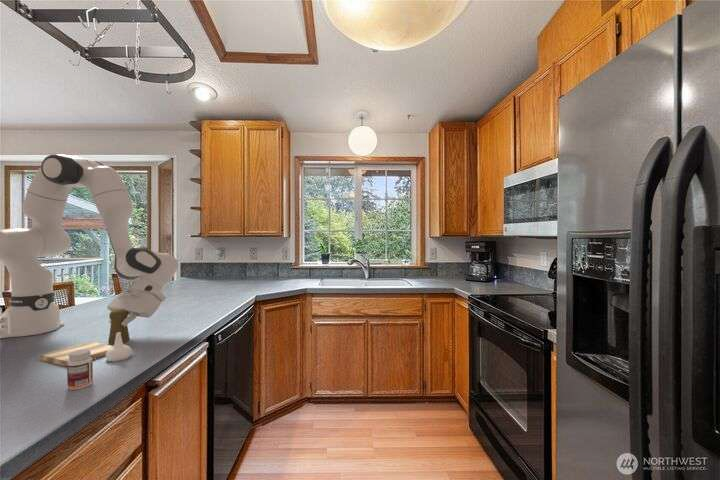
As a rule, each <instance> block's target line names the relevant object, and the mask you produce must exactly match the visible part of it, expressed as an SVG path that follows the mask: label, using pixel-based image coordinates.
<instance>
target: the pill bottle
mask: <svg viewBox="0 0 720 480" xmlns="http://www.w3.org/2000/svg"><path fill="white" fill-rule="evenodd" d="M90 356H91V352H90V350H89V349H82V350H77V351H73V352H71V353H70V354H69V360H70V361H69V362H68V363H67V367H66V371H67V373H66V374H67V376H66V378H67V390H69V391H70V390H71V391H77V390H81V389H85V388H87V387H89V386H91V385H92V384H93V382H94V379H93V377H94V376H93V375H94V373H93V370H94V369H93V367H94V365H93V360H92V358H91V357H90Z"/></svg>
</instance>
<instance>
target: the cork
mask: <svg viewBox="0 0 720 480" xmlns="http://www.w3.org/2000/svg"><path fill="white" fill-rule="evenodd" d="M128 316H129V315H128V312H127V311H126V310H125V309H118V310H113V311H110V313H109V319H110V320H112V321H111V323H110V328H109V335H108V342H107V343H109V344H108V345H114V343H115V338H116V333H118V332H121V338H122V342H123V344H124V343H128V342H130V333H129V328H128V325H127V326H121V325H120V324H119V323H120V322H121V321H122V320H123V319H125V318H127V317H128Z"/></svg>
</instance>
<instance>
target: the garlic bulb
mask: <svg viewBox="0 0 720 480" xmlns="http://www.w3.org/2000/svg"><path fill="white" fill-rule="evenodd" d="M112 346H113V347H111V348H110V349H109V350H108V351H107V353H106V356H105V359H106V361H108V362H111V361H112V363H113V361H114V362H120V361H123V360H127V359H129V358H130V357H131V355H132V354H133V353H132V348H131V347H130V345H127V344H124V343H123V342H122V338H121V332H118V333H116V338H115V343H114V344H113V345H112Z"/></svg>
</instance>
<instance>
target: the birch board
mask: <svg viewBox="0 0 720 480" xmlns="http://www.w3.org/2000/svg"><path fill="white" fill-rule="evenodd" d="M113 346H114V345H112V344H105V343H101V342H96V341H92V340H90V341H87V342H83V343H79V344H75V345H71V346H68V347H65V348H61V349H57V350H53V351H49V352H45V353H41V354H40V360H41V361H44V362H48V363H52V364H55V365H59V364H60V365H59V366H62V365H64V367H66V366H67V363H68V362H69V361H70V360H69V354H70V353H71V352H73V351H77V350H82V349H89V350H90V352H91V356H90V357H91V358H92V359H93V360H96V359H99V358H103V357H106V356H105V355H106V353H107V351H108V350H109V349H110V348H111V347H113ZM102 356H103V357H102ZM95 358H96V359H95Z"/></svg>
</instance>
